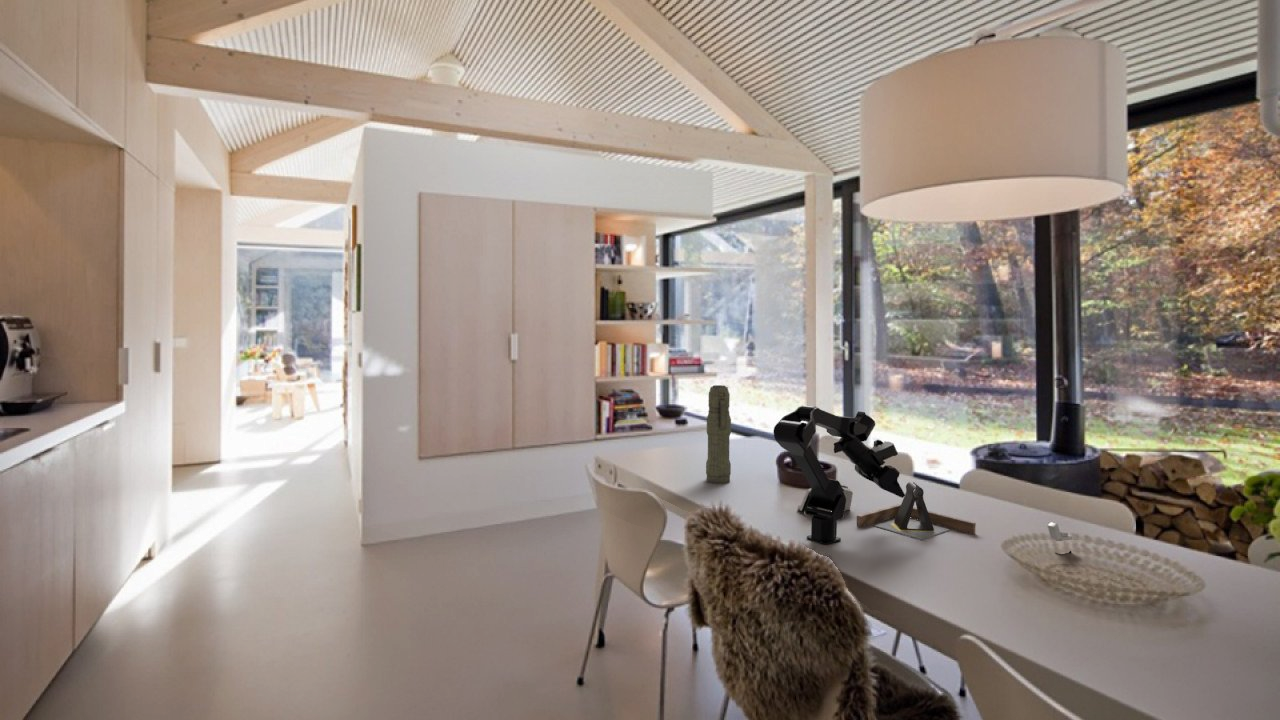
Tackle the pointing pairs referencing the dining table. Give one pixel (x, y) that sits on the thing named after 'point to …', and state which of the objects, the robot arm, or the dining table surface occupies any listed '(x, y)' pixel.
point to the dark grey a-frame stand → (907, 508)
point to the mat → (912, 533)
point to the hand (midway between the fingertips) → (896, 492)
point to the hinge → (848, 495)
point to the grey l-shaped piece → (1058, 533)
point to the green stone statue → (718, 435)
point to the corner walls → (935, 518)
